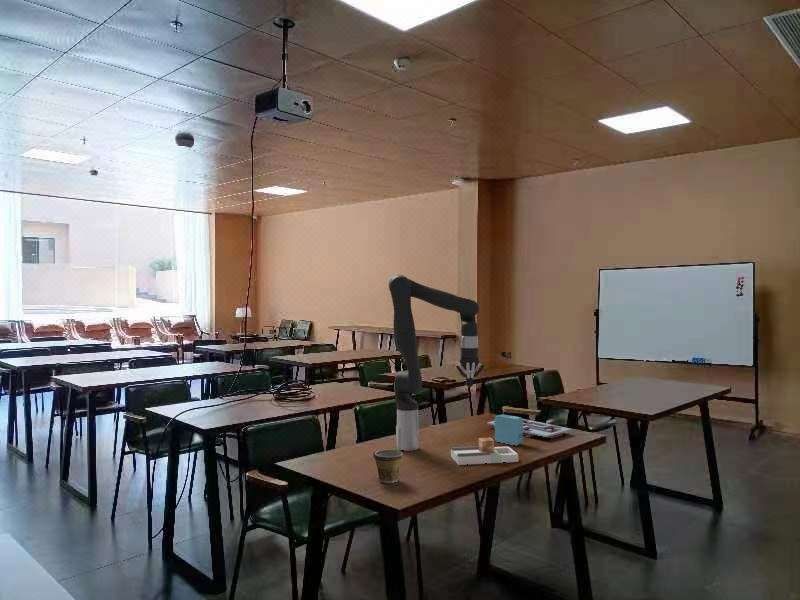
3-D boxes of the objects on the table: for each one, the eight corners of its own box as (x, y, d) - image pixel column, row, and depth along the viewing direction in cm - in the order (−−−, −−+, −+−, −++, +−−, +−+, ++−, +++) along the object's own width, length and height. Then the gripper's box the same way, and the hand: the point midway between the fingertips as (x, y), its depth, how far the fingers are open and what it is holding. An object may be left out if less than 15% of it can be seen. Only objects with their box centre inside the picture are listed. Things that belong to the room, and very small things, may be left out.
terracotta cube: (482, 453, 233) (482, 441, 233) (478, 450, 238) (478, 438, 238) (494, 453, 234) (494, 440, 234) (490, 449, 239) (490, 437, 239)
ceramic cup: (408, 480, 209) (408, 453, 209) (387, 487, 202) (387, 458, 202) (383, 473, 219) (383, 446, 218) (363, 479, 212) (363, 451, 211)
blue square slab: (523, 444, 258) (523, 417, 258) (517, 446, 255) (517, 419, 255) (499, 440, 266) (499, 413, 266) (494, 441, 263) (494, 415, 263)
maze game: (487, 428, 290) (487, 422, 289) (513, 423, 302) (513, 416, 302) (545, 442, 263) (545, 435, 262) (571, 435, 275) (571, 428, 275)
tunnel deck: (458, 464, 228) (458, 454, 228) (451, 456, 240) (451, 446, 240) (518, 461, 232) (518, 451, 232) (508, 453, 244) (508, 444, 244)
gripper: (456, 347, 245) (456, 388, 245) (486, 346, 247) (487, 387, 247) (452, 345, 252) (452, 385, 253) (481, 345, 255) (481, 384, 255)
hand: (469, 386), depth 250 cm, fingers closed
